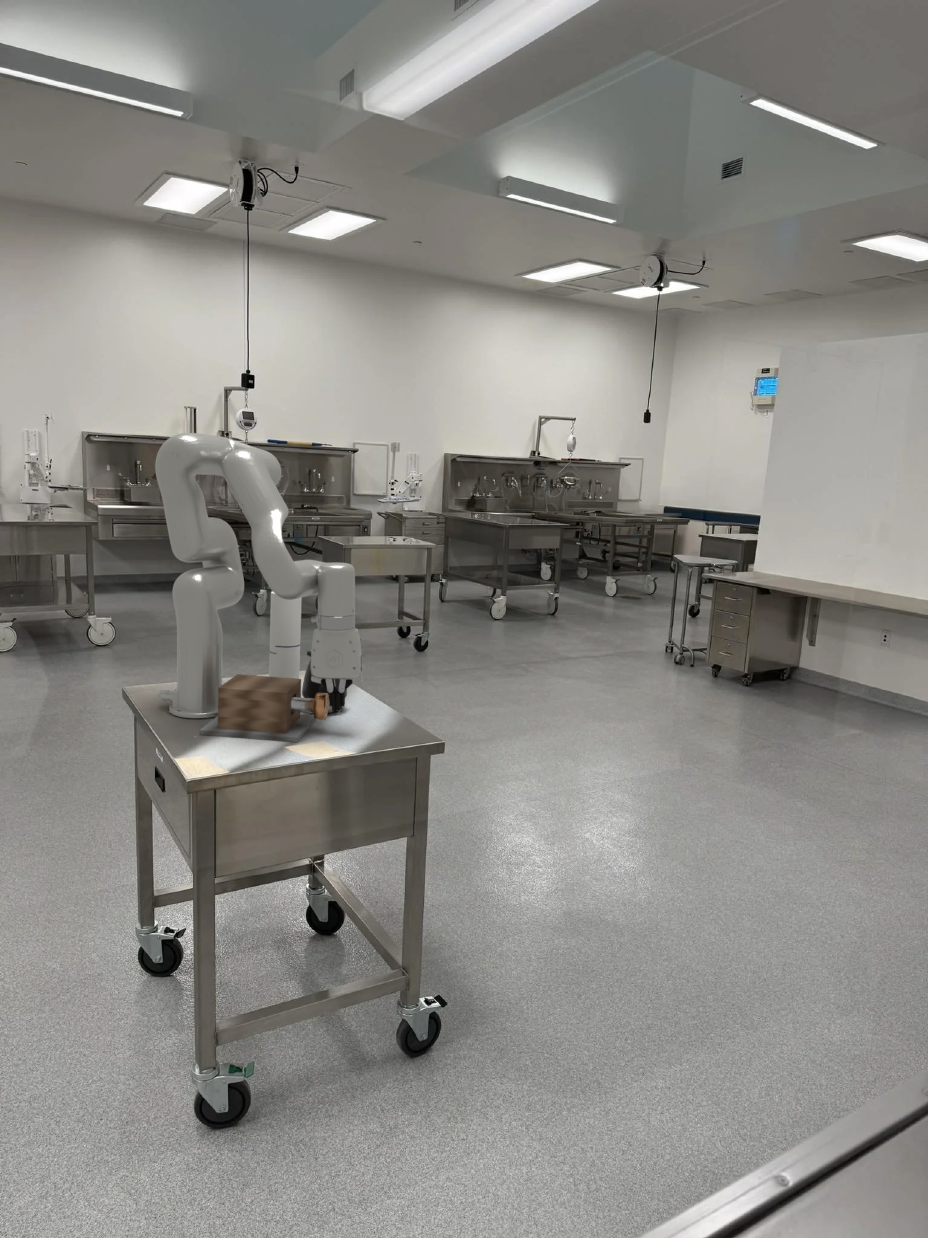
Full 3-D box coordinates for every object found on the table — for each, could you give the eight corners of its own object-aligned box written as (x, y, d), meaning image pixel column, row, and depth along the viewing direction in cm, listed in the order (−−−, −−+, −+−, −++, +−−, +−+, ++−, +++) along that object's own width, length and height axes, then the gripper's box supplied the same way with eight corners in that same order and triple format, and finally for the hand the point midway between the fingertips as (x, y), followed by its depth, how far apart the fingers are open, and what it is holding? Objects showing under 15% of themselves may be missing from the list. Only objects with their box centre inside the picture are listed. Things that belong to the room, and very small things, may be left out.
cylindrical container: (291, 700, 197) (294, 596, 193) (263, 696, 198) (265, 593, 194) (303, 693, 204) (306, 592, 200) (276, 689, 205) (278, 589, 201)
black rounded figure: (291, 708, 190) (293, 643, 187) (326, 701, 198) (328, 638, 195) (320, 719, 183) (322, 651, 181) (355, 711, 191) (358, 646, 189)
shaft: (227, 716, 172) (227, 690, 171) (235, 708, 178) (236, 683, 177) (322, 723, 171) (323, 697, 170) (328, 715, 177) (329, 690, 176)
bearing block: (199, 734, 168) (200, 689, 166) (226, 713, 184) (226, 671, 182) (297, 742, 167) (298, 696, 165) (315, 719, 183) (317, 677, 181)
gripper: (296, 625, 167) (297, 713, 170) (369, 626, 167) (369, 715, 169) (305, 619, 175) (306, 704, 177) (375, 621, 174) (375, 706, 177)
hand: (337, 709), depth 173 cm, fingers closed
